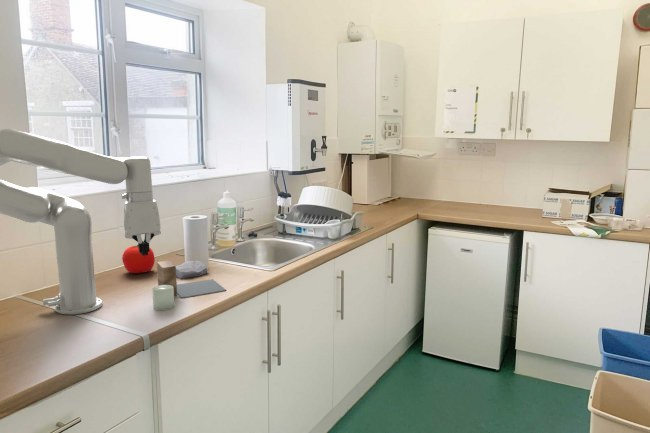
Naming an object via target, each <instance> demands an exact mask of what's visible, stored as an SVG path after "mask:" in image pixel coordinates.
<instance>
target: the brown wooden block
mask: <svg viewBox="0 0 650 433" xmlns="http://www.w3.org/2000/svg"><path fill="white" fill-rule="evenodd" d="M176 266H177V265H175V264H174V263H173V262H172V261H170V260H163V261H157V262H156V267H157V268H156V271H157V272H156V274H157V286H159V285H171V286H173V289H174V298H175V297H178V295H177V284H178V283H177V282H178V281H177V277H176Z"/></svg>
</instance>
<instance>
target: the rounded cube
mask: <svg viewBox="0 0 650 433" xmlns="http://www.w3.org/2000/svg"><path fill="white" fill-rule="evenodd" d="M152 302H153V303H152V305H153V306H152V307H153V310H156V311H168V310H169V311H170V310H171V309H174V308H175V297H174V289H173V286H171V285H159V286H158V285H156V286H154V287H153V288H152Z"/></svg>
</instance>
